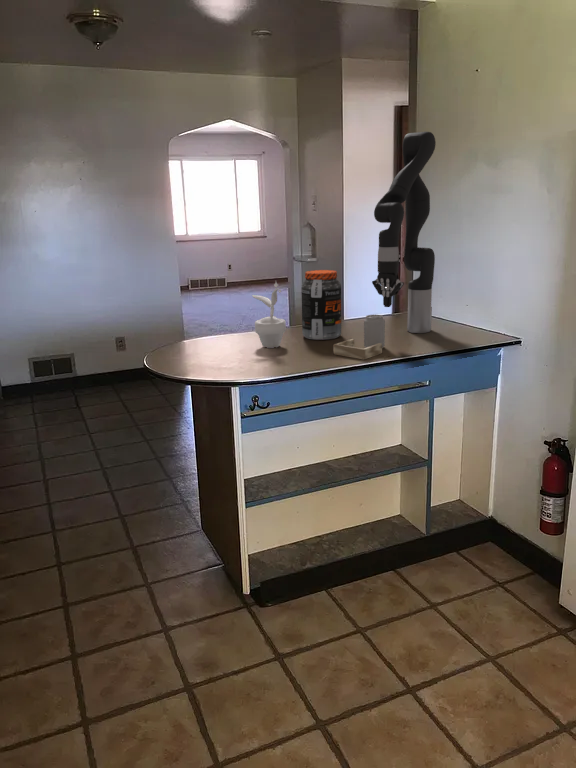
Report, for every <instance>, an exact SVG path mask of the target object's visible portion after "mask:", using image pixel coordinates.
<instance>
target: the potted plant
mask: <svg viewBox="0 0 576 768" xmlns="http://www.w3.org/2000/svg"><path fill="white" fill-rule="evenodd" d="M273 286H274V288H275V289H274V290H273V292H272V293H271V297H270V298H269V297H267V296H263V295H257V294H256V295H255V294H252V295H251V296H252V298H254V299H256V300H259V301H260V302H261V303H263V304H264V305H265V306H267V307H268V308H270V312H269V315H270V316H266V317H262V318H260V319H258V320H255V321H254V331H255V333H256V334H257V336H258V337H259V340H260V342H261V345H262V347H264V348H265V347H267V348H266V349H275V348H274V347H276V348H278V347H279V346H280V345H281V342H282V339H283V336H284V333H285V332H287V329H286V328H287V324H286V322H287V321H286V320H285V319H284V318H277V317H276V315H275V314H274V313H275V305H276V304H277V302H278V292H279V293H281V292H282V290H281V287H278V286H279V284H278V283H277V281H275V283H274V284H273ZM277 287H278V288H277ZM274 315H275V316H274Z"/></svg>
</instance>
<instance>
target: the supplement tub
mask: <svg viewBox="0 0 576 768" xmlns="http://www.w3.org/2000/svg"><path fill="white" fill-rule="evenodd" d="M337 277H338V272H337V270H332V269H316V270H315V269H314V270H307V271H305V273H304V278H305V280H304V281H303V282H302V284H301V325H302V326H301V327H302V335H303V337H304V338H306V339H308V340H317V341H319V340H321V341H322V340H325V341H326V340H334V339H337V338H339V337H340V336H341V334H342V284H341V283H340V281H339V280H338V278H337Z"/></svg>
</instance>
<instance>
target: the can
mask: <svg viewBox="0 0 576 768" xmlns="http://www.w3.org/2000/svg"><path fill="white" fill-rule="evenodd" d="M385 327H386V321H385V318H384V315H382V314H368V315H366V316H365V319H364V320H363V333H364V334H363V346H364V347H365V348H366V347H369V346H372V345H375V344H378V343H382V349H383V348H384V347H385V343H386V341H385V340H386V339H385V337H386V336H385V333H386V331H385V330H386V328H385Z"/></svg>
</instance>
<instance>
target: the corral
mask: <svg viewBox="0 0 576 768" xmlns="http://www.w3.org/2000/svg"><path fill="white" fill-rule="evenodd" d="M332 349H333V355H335V356H336V355H338V356H341V357H342V356H343V357H348V358H352V359H360V360H367V359H369V358H371V357H374V356H375V357H376V356H378V355H380V354H383V348H382V343H378V344H375V345H372V346H369V347H365V348H364V347H356V346H355V339H354V338H349V339H347V340H346V339H345V340H344V341H343V340H342V341H340V342H338V343H337V342H336V343H333V348H332Z"/></svg>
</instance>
